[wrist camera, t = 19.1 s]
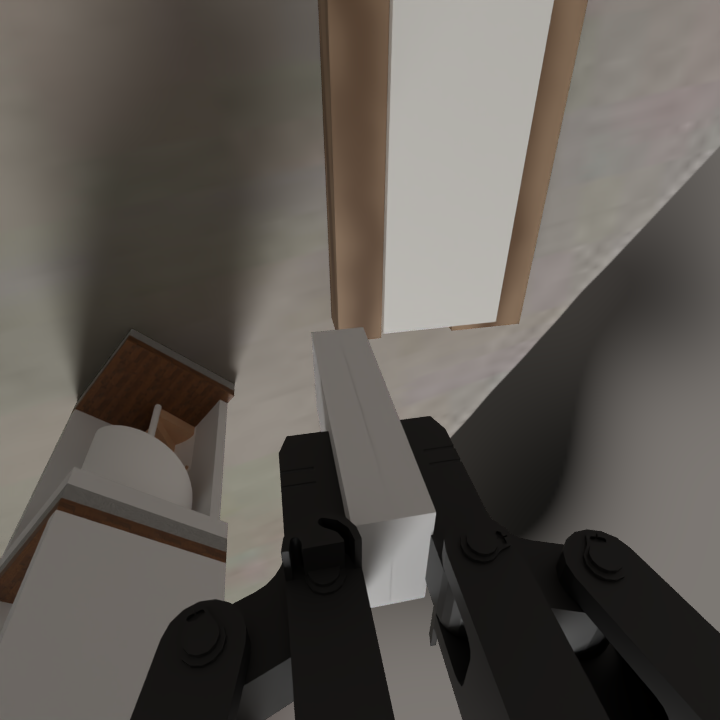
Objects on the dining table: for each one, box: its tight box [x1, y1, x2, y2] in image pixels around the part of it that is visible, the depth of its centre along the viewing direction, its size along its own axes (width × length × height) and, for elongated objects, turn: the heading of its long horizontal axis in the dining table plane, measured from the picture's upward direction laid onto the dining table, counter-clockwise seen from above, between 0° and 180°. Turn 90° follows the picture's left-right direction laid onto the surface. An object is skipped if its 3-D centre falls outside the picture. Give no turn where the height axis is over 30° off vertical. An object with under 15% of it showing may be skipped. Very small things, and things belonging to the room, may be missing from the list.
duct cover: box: [382, 0, 554, 334], centre depth 37 cm, size 11×26×1 cm, turn 0°
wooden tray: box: [318, 0, 588, 339], centre depth 39 cm, size 18×28×5 cm, turn 0°
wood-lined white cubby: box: [0, 329, 235, 720], centre depth 35 cm, size 11×11×35 cm
